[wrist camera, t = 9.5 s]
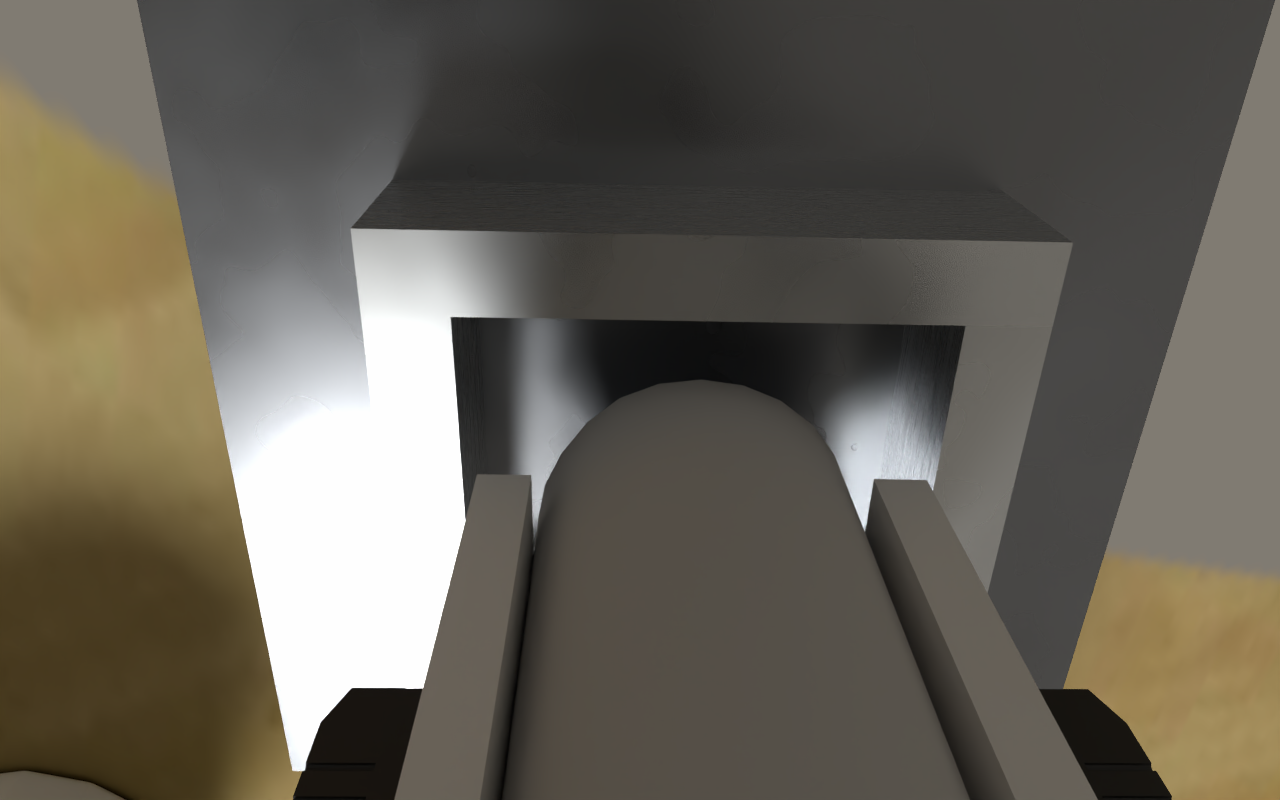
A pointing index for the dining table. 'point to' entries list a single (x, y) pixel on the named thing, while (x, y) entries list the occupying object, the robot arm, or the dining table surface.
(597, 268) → the gray square base
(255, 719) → the dining table surface
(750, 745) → the beverage can
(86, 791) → the white cup
